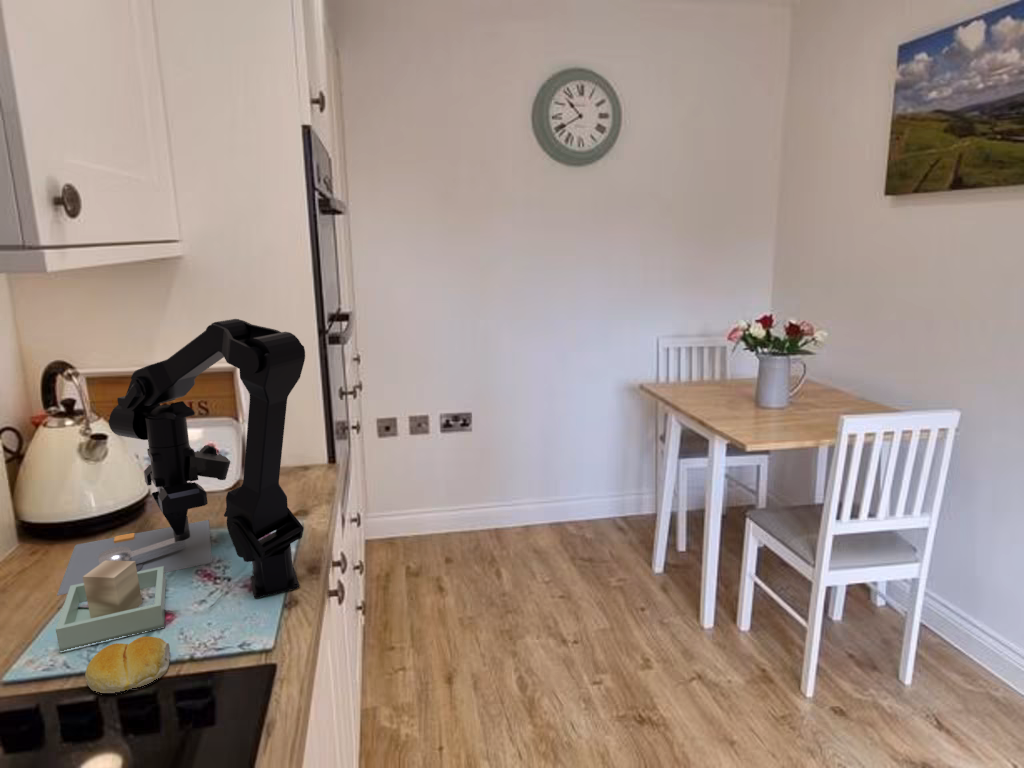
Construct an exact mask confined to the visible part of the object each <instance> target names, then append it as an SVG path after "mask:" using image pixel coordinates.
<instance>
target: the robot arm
mask: <svg viewBox="0 0 1024 768" xmlns="http://www.w3.org/2000/svg"><path fill="white" fill-rule="evenodd" d="M223 358H224V360H225V362H226V363H227V364H229V365H231V366H233V367H235V368H236V369H239V377H240V378H239V379H240V381H241V382H242V384H243V386H244V387H245V389H246V391H247V392H248V394H249V405H248V418H247V419H248V420H247V429H246V440H245V455H244V469H243V479H242V484H241V486H238V487H236V488H234V489H232V490H229V491H228V492H227V493H226V497H225V505H226V508H225V512H224V514H223V516H224V517H226V527H227V528H226V529H227V531H228V534H229V537H230V540H231V542H232V544H233V547H234V550H235V552H236V555H237V556H238V557H239V558H242V559H243V562H246V563H248V562H250V563H251V565H252V573H253V575H251V576H250V584H251V588H252V594H253V598H254V599H259V598H262V597H267V596H271V595H272V596H273V595H276V594H279V593H284V592H288V591H292V590H296V589H299V588H300V581H299V579H298V576H297V573H296V569H295V567H294V565H293V554H292V545H291V544H293V543H294V542H296V541H297V540H300V539H302V538H303V533H304V526H303V524H302V523H301V522H300V521H299V520H298V518H297V517H296V516H295V514H294V513H293V512H292V511H291V510H290V508H289V507H288V496H287V494H286V493H285V491H284V490H283V488H282V486H281V485H280V476H281V475H280V473H281V465H282V462H281V461H282V453H283V445H284V444H283V443H284V435H285V434H284V433H285V423H286V414H287V413H286V412H287V404H288V398H289V395H290V394H291V392H292V391H293V389H294V387H295V386H296V384H297V383H298V382H299V380H300V379H301V375H302V371H303V367H304V364H305V360H306V350H305V346H304V345H303V344H302V343H301V341H300V339H299V338H298V337H297V336H296V335H295V334H293V333H292V332H289V331H280V330H279V329H274V328H270V327H266V326H260V325H256V324H252V323H251V322H247V321H246V320H242V319H239V318H232V319H231V318H230V319H225V320H221V321H215V322H211V324H209V325H208V326H207V327H206V328H205V330H204V331H203V332H202V333H200V334H199V335H198V336H196V337H195V338H194V339H192V340H191V341H190V342H188V343H187V344H186V345H185V346H183V347H181V348H180V349H179V350H178V351H176V352H175V353H174V354H173V355H171V356H170V357H168V358H167V359H164V360H162V361H159V362H155V363H151V364H148V365H146V366H144V367H141V368H139V369H136V370H135V371H133V373H132V374H131V377H130V379H131V381H130V382H129V385H128V388H127V391H126V393H125V395H124V396H120V397H117V405H116V406H115V407H113V409H112V411H111V412H110V415H109V419H108V427H109V429H110V430H111V432H113V434H115V435H116V436H120V437H124V438H130V439H131V438H132V439H136V440H142V441H147V443H148V444H147V445H148V448H147V449H146V451H147V456H148V458H149V459H150V460H149V461H150V464H149V465H147V467H146V468H145V469H144V471H143V474H144V482H145V484H146V485H147V487H148V486H152V483H153V485H154V486H155V487H154V488H156V490H157V491H153V492H152V493H151V496H152V498H153V499H154V501H155V503H156V504H157V505H156V506H158V509H160V511H161V513H162V514H163V516H164V518H165V519H166V521H167V522H168V524H169V525H170V526H169V527H172V529H173V530H174V532H175V534H176V535H182V534H184V529H185V523H186V518H187V516H188V511H189V510H190V509H195V508H199V507H204V506H207V505H208V502H209V501H208V496H207V495H208V493H207V491H206V490H205V489H204V488H203V487H202V486H201V484H198V483H197V482H195V481H199V477H204V478H209V479H210V478H212V479H217V480H219V481H226V480H227V477H228V472H229V468H230V465H231V460H230V459H228V458H227V456H225V455H223V454H218V452H217V448H215V447H214V446H213V445H206V444H205V445H204V446H203V447H202V448H201V449H200V450H197V451H195V450H194V448H192V447H191V444H190V440H189V439H190V438H189V432H188V423H187V418H188V417H192V416H194V415H196V412H195V411H194V409H193V408H192V407H190V406H188V405H187V404H186V403H185V402H184V401H183V400H180V401H176V402H173V403H172V402H171V401H175V400H176V399H180V398H183V397H185V396H186V395H187V394H188V393H189V392H190V391H191V389H192V388H194V386H195V383H196V381H195V380H196V378H197V377H198V376H199V375H200V374H202V373H203V372H205V371H207V370H208V369H209V368H210V367H212V366H214V365H215V364H216V363H217V362H219V361H221V360H222V359H223ZM168 402H171V403H170V404H165V403H168Z"/></svg>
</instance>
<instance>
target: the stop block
mask: <svg viewBox="0 0 1024 768" xmlns="http://www.w3.org/2000/svg"><path fill="white" fill-rule="evenodd" d="M83 581H84V587H85V592H86V597H87V601H86V602H87V607H89V613H90V618H96V617H100V616H104V615H109V614H113V613H117V612H122V611H126V610H130V609H135V608H139V607H141V605H142V604H143V599H142V594H141V593H142V592H141V589H140V586H139V580H138V575H137V569H136V563H135V561H106V560H105V561H104V562H102V563H101V564H100V565H98V566H97V567H96V568H94V569H93V570H91V571H90V572H89V573H87V574H86V575H85V576H83Z"/></svg>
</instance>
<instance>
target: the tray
mask: <svg viewBox="0 0 1024 768" xmlns="http://www.w3.org/2000/svg"><path fill="white" fill-rule="evenodd" d="M137 575H138V580H139V586H140V590H143V589H148V588H153V587H155V591H154V592H155V593H154V603H152V604H148V605H144V606H138V607H137V608H135V609H130V610H126V611H122V612H117V613H113V614H109V615H104V616H100V617H96V618H90V613H89V607H88V606H87V607H85V606H84V607H83V606H82V607H81V606H79V605H80V603H85V602H87V597H86V592H85V587H84V583H81V584H76V585H71V586H70V589H69V592H68V594H66V596H65V601H64V603H63V607H62V610H61V613H60V615H59V618H58V620H57V621H58V622H57V625H56V627H55V633H56V638H57V644H58V648H59V652H60V651H64V650H67V649H71V648H75V647H79V646H84V645H88V644H92V643H96V642H101V641H106V640H109V639H114V638H119V637H122V636H128V635H132V634H137V633H142V632H145V631H150V630H153V629H158V628H161V627H164V628H165V626H164V622H165V621H166V610H165V609H166V608H165V603H166V602H165V601H166V587H167V586H166V585H167V578H166V573H165V571H164V566H162V567H157V568H153V569H148V570H143V571H138V572H137ZM165 623H166V622H165Z"/></svg>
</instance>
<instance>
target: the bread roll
mask: <svg viewBox="0 0 1024 768" xmlns="http://www.w3.org/2000/svg"><path fill="white" fill-rule="evenodd" d="M170 650H171V649H170V644H169V643H168V642H166V641H165V640H164V639H162V638H161V637H155V636H147V635H146V636H140V637H138V638H136V639H134V640H132V642H130V643H112V644H109V645H107V646H105V647H104V648H102V649H101V650H99V651H98V652H97V653H96V654H95V655H94V656H93V658H91V660H90V661H89V663H88V665H87V667H86V670H85V674H84V677H85V680H86V684H87V686H88V688H90V690H91V691H93V692H94V691H96V692H95V693H97V692H100V693H115V692H120V691H125V690H127V691H129V690H133V689H132V688H137V687H141V686H144V685H147V684H149V683H151V682H153V681H154V680H156V679H157V680H158V678H159V679H161V678H162V677H163V675H164V674H166V673H167V671H168V668H169V666H170V661H169V659H170V658H171V651H170ZM169 655H170V656H169ZM170 660H171V659H170ZM157 680H156V681H157ZM154 682H155V681H154ZM154 682H153V683H154ZM151 684H152V683H151ZM149 685H150V684H149ZM147 686H148V685H147ZM144 687H145V686H144Z"/></svg>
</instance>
